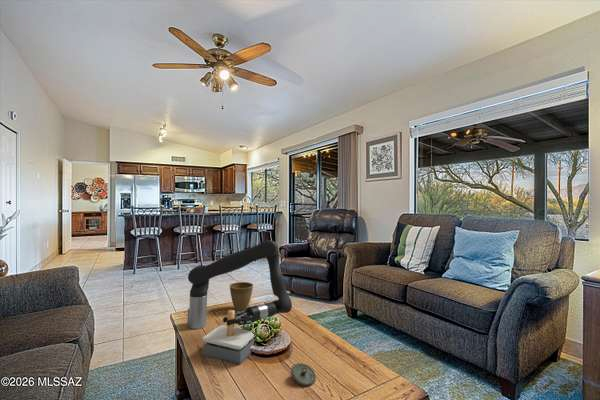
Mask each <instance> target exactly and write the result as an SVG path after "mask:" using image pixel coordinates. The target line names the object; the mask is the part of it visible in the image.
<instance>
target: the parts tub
mask: <svg viewBox="0 0 600 400" xmlns="http://www.w3.org/2000/svg"><path fill="white" fill-rule="evenodd" d="M253 344H254V340H252V339H251V340H250V342H249V343H248V344H247V345H246V346H245V347H244V348H242V349H240V350H237V349H232V348H228V347H224V346H220V345H215V344H211V343H208V342H207V341H206V342H205V344H203V356H204V357H208V358H212V359H216V360H220V361H224V362H227V363H232V364H237V365H241V364H243V363H244V362H245V361H246V359H248V357H249V356H251V354H252V353H251V351H250V347H251V345H253Z"/></svg>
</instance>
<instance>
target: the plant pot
mask: <svg viewBox="0 0 600 400" xmlns="http://www.w3.org/2000/svg"><path fill="white" fill-rule="evenodd" d="M253 289H254V284H253V283H252V282H247V281H245V282H244V281H239V282H233V283H231V284H230V285H229V291H230V297H231V301H232V306H233V308H234V311H236V310H238V312H241V311H245V310H246V309H247V308H248V307H249V304H250V301H251V298H252V294H253Z"/></svg>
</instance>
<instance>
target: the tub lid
mask: <svg viewBox="0 0 600 400" xmlns="http://www.w3.org/2000/svg"><path fill="white" fill-rule="evenodd" d="M226 317H227V320H231V319H234V318H235V309H229V310H227V316H226ZM251 331H252V330H250V331H249V329H246V328H245V329H244V328H239V327H235V324H232V325H229V326H228V325H227V324H226V325H224V324H220V325H219V326H217V327H216V328H215V329H213V330H211V331H210V332H209V333H207V334H206V335H204V336H202V340H201V341H204V342H206V343H207V342H208V343H211V344H215V345H220V346H224V347H228V348H232V349H237V350H240V349H242V348H243V347H244V346H245V345H246V344H247V343H248V342H249V341H250V340H251V339H252V338H254V337H255V336H254V334H253V333H252V332H251Z"/></svg>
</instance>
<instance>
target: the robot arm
mask: <svg viewBox="0 0 600 400" xmlns="http://www.w3.org/2000/svg"><path fill="white" fill-rule="evenodd" d="M279 255H280V254H279V245H278V244H277V242H276V241H275V240H270V239H267V240H264V241H263V242H261V243H259V244H257V245H254V246H253V247H250V248H246V249H242V250H238V251H235V252H233V253H229V254H228V255H226V256H222V257H221V258H220V259H217V260H215V261H214V262H211V263H209V264H207V265H203V264H198V265H197V266H195V267H194V268H192V269H191V270H190V271H189V272H188V275H187V279H188V281H189V282H190V283H191V284H192V285H191V289H190V290H189V306H188V307H189V308H188V309H187V321H186V326H187V327H188V328H190V329H192V330H198V329H203V328H205V327H206V326H207V313H208V312H207V311H208V307H207V306H208V290H209V287H210V285H209V284H210V280H211V279H212V278H215V277H219V276H222V275H225V274H228V273H231V272H233V271H236V270H237V271H238V270H240V269H242V268H244V267H246V266H248V265H250V264H251V263H253V262H255V261H258V260H261V259H266V261H267V264H268V269H269V277H270V278H269V280H270V284H271V290H272V293H273V295H274V296H275V297H277V298H278V299H277V300H273V301H270V302H265V303H259V304H256V305H252V306H248V308H247V309H246V310H245V311H241V312H238V310H236V311H235V310H234V311H235V317H234V319H231V320H227V317H228V316H224V317H223V318H222V322H223V324H225V323H226V326H227V325H228V326H229V325H232V324H234V325H238V326H245V325H251V324H252V323H256V322H255V321H257V320H260V319H263V320H265V319H268V318H271V317H273V316H276V315H279V314H288V313H290V312H291V311H292V308H293V303H292V299H291V298H290V295H289V293H288V292H287V289H286V285H285V282H284V277H283V272H282V268H281V263H280V256H279ZM267 317H268V318H267ZM264 318H265V319H264ZM260 321H261V320H260ZM257 322H258V321H257Z"/></svg>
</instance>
